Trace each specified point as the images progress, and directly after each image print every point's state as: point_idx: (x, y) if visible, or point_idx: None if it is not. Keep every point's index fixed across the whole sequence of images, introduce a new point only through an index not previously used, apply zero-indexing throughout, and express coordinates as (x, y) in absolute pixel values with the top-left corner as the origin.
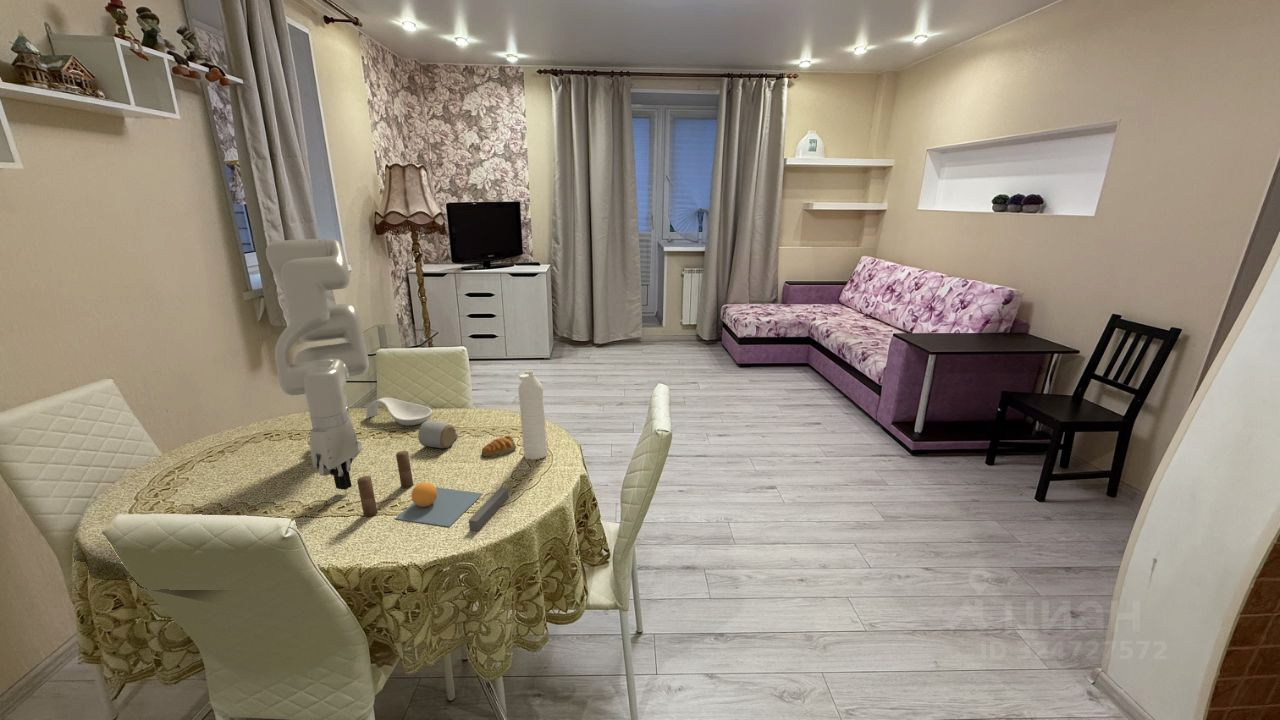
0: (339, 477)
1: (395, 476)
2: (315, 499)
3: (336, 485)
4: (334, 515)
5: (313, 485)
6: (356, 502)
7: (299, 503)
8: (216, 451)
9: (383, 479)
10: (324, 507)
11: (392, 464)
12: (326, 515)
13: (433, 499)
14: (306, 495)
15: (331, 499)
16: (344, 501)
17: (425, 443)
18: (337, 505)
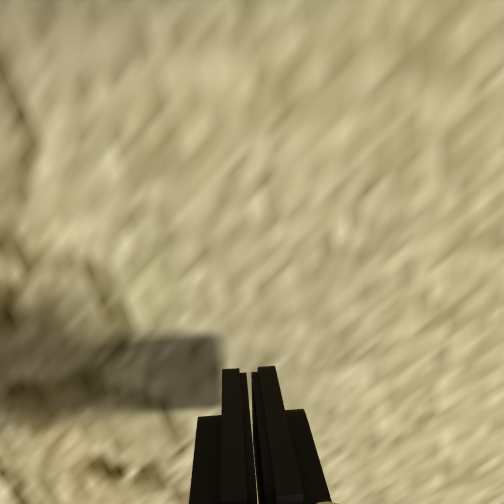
0: None
1: (469, 483)
2: (109, 250)
3: (198, 429)
4: (27, 495)
5: (286, 21)
6: (177, 498)
7: (10, 173)
8: None
9: (432, 453)
10: (60, 389)
11: None
12: (4, 462)
13: None
14: (126, 118)
15: (152, 355)
16: (162, 439)
17: None
18: (112, 437)
